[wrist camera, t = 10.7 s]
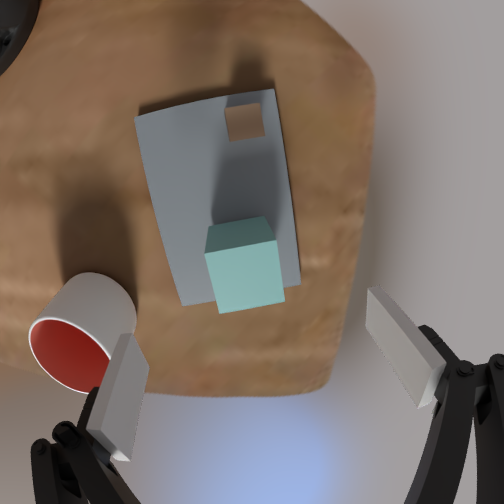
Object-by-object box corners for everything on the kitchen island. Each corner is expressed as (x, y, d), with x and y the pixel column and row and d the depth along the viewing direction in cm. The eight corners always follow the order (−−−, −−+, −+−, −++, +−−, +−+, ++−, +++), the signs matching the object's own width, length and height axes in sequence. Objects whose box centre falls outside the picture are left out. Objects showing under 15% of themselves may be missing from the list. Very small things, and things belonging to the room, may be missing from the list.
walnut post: (224, 113, 24) (224, 108, 19) (253, 109, 24) (259, 102, 19) (229, 141, 25) (230, 141, 20) (257, 136, 25) (265, 136, 20)
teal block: (220, 276, 29) (219, 313, 23) (208, 226, 27) (204, 253, 21) (272, 266, 29) (284, 301, 23) (264, 215, 27) (276, 240, 21)
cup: (97, 251, 29) (56, 297, 20) (155, 315, 32) (137, 375, 23) (53, 295, 30) (15, 342, 21) (106, 349, 34) (83, 404, 25)
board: (137, 118, 24) (134, 117, 23) (271, 90, 25) (274, 88, 23) (183, 300, 32) (182, 306, 31) (298, 279, 32) (300, 284, 31)
